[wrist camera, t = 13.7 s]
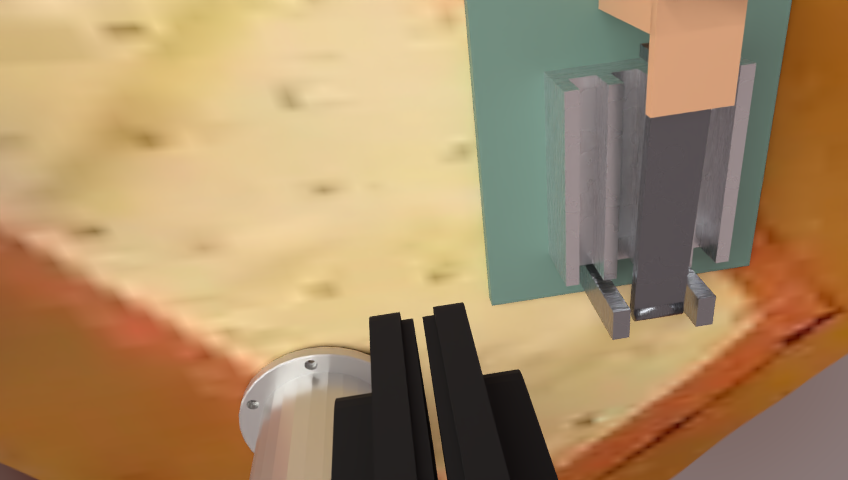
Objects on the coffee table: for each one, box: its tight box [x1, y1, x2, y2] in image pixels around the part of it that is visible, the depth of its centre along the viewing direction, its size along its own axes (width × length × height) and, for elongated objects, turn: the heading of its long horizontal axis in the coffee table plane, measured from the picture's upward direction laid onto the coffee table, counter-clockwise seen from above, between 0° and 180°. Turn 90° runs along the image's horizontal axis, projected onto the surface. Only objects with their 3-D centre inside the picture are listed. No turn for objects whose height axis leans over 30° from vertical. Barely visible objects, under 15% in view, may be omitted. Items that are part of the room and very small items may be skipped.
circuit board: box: [464, 0, 792, 306], centre depth 38 cm, size 22×18×1 cm
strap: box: [630, 43, 711, 321], centre depth 34 cm, size 16×3×2 cm, turn 7°
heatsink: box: [544, 57, 756, 340], centre depth 36 cm, size 14×10×6 cm
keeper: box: [598, 0, 748, 118], centre depth 31 cm, size 6×4×7 cm
